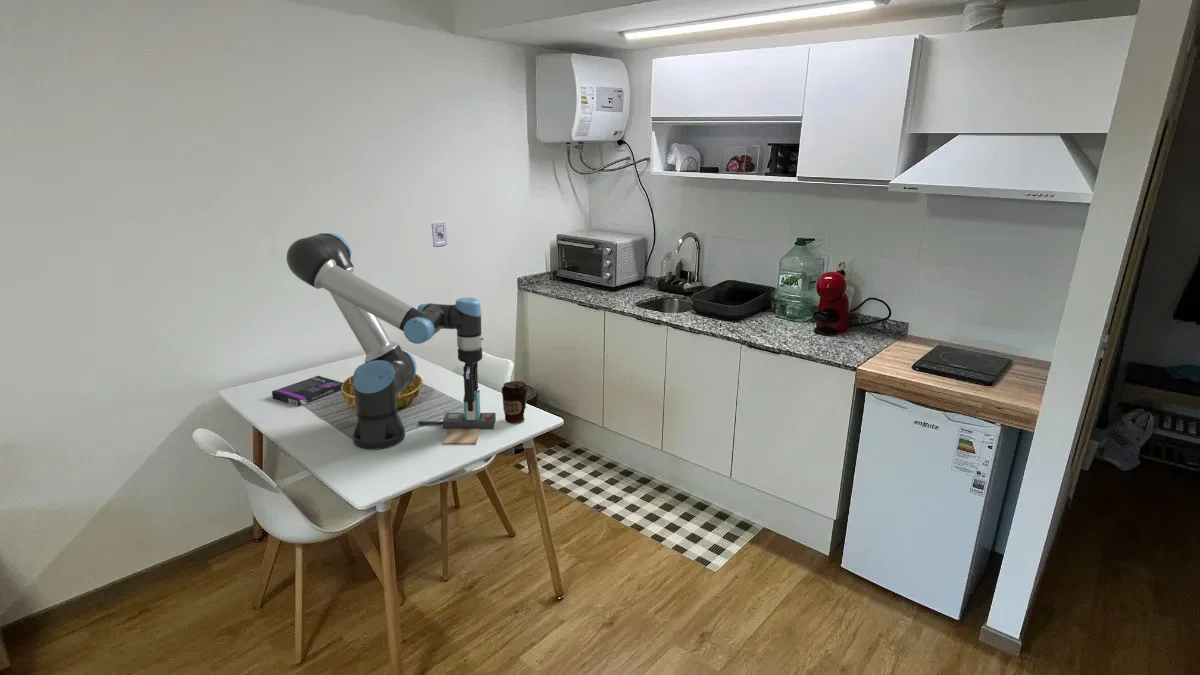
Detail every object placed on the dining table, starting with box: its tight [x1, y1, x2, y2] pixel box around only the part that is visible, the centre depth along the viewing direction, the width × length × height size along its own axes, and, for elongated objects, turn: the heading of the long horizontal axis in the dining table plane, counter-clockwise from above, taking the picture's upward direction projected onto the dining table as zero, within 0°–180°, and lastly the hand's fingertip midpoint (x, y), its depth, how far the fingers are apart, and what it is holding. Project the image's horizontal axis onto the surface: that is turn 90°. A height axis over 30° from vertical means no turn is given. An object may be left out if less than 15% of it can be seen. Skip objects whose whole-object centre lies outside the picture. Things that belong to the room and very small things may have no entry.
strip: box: [417, 412, 497, 431], centre depth 203 cm, size 25×7×3 cm, turn 93°
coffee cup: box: [501, 380, 528, 425], centre depth 206 cm, size 9×8×13 cm
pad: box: [442, 429, 481, 445], centre depth 195 cm, size 10×10×1 cm
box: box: [271, 375, 344, 407], centre depth 226 cm, size 14×4×20 cm
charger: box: [463, 391, 481, 421], centre depth 202 cm, size 4×4×11 cm
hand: (472, 415), depth 203 cm, fingers closed on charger, 4 cm apart
